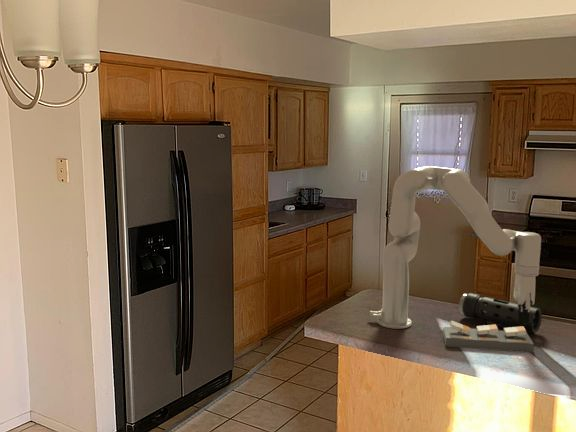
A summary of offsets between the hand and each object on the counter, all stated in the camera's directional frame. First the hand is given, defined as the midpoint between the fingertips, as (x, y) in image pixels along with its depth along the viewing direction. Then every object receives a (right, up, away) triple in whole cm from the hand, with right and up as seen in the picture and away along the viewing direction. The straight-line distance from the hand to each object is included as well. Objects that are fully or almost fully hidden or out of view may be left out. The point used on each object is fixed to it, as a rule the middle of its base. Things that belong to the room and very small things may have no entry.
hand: (523, 322), depth 193 cm
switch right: (-2, -3, +1) cm, 4 cm away
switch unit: (-11, -8, +3) cm, 14 cm away
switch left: (-20, -3, +4) cm, 21 cm away
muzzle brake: (-1, -6, +21) cm, 21 cm away
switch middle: (-11, -3, +3) cm, 12 cm away
